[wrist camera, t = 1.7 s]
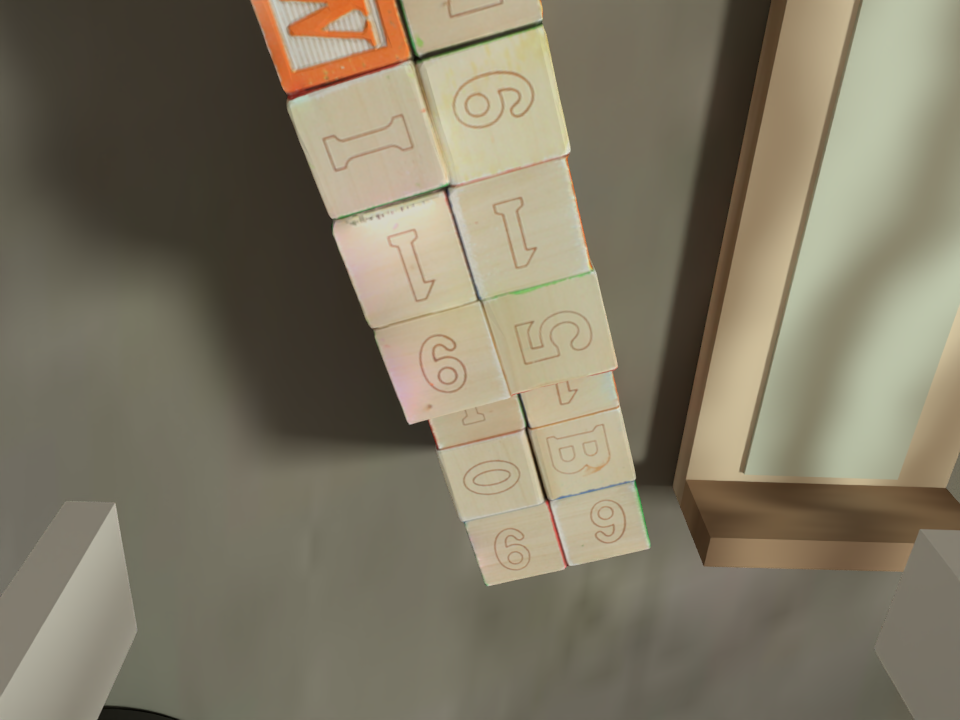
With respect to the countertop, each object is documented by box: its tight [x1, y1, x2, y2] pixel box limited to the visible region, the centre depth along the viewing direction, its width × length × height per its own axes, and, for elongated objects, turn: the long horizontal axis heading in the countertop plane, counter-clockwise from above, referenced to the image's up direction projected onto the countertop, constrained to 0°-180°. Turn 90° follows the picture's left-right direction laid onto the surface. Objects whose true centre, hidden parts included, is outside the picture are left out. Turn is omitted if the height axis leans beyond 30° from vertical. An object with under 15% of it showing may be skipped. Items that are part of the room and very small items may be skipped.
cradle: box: [673, 0, 960, 572], centre depth 31 cm, size 12×26×6 cm, turn 176°
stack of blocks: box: [250, 0, 651, 586], centre depth 27 cm, size 21×6×12 cm, turn 15°
